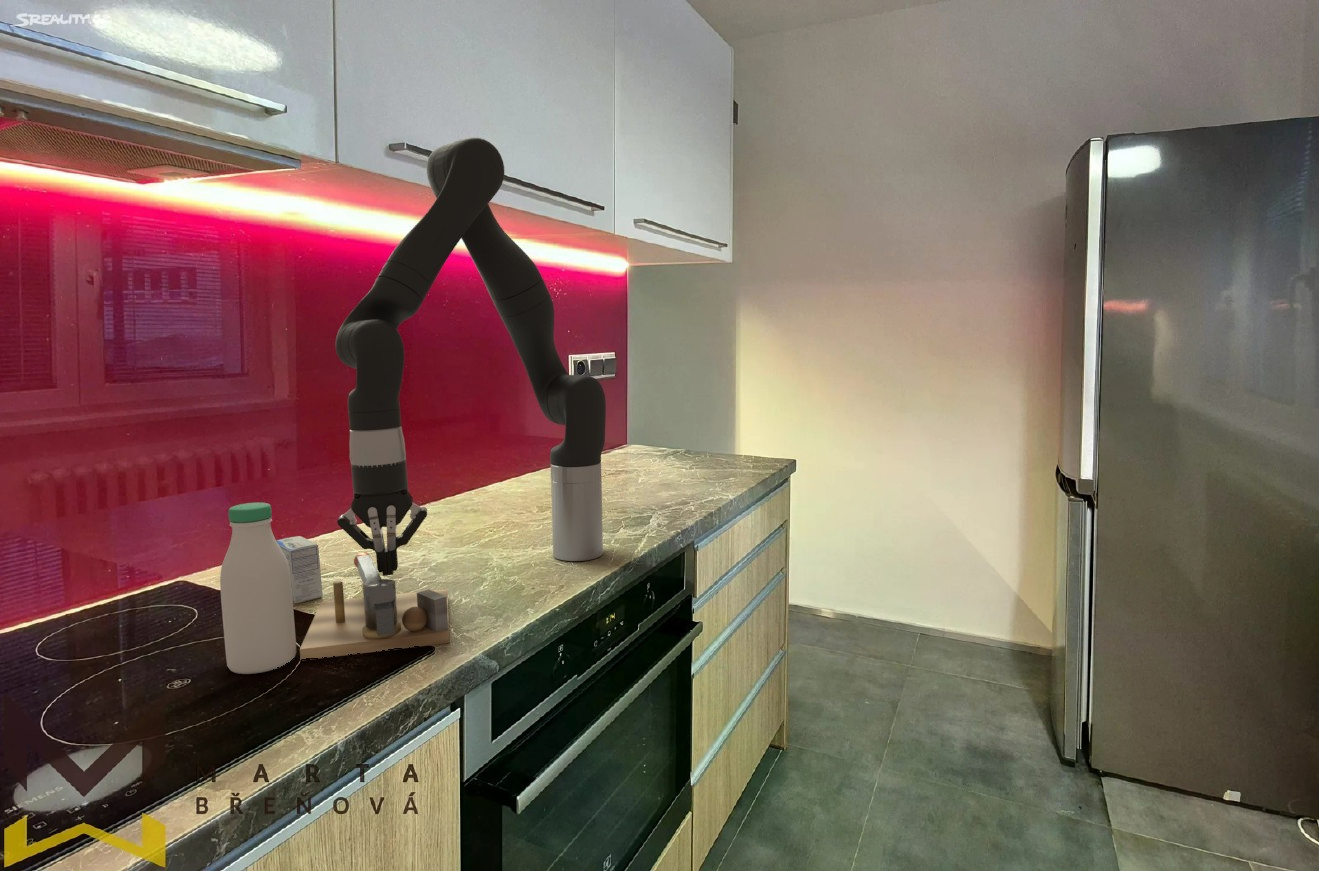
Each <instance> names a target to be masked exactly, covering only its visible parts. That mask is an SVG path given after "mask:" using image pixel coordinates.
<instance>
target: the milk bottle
mask: <svg viewBox="0 0 1319 871" xmlns="http://www.w3.org/2000/svg"><path fill="white" fill-rule="evenodd" d="M272 513H273V512H272V505H271V504H270V503H268V502H267V503H266V502H247V503H240V504H236V505H234V506H231V507H229V509H228V520H229V526H230V527H231V531H232V533H231V538H230V542H229V546H228V549H227V551H226V554H225V556H224V559H223V561H222V564H221V569H220V574H219V575H220V578H219V581H220V582H219V583H220V584H219V585H220V586H219V587H220V601H221V602H220V603H221V612H222V613H221V614H222V626H223V628H222V629H223V637H224V650H225V659H226V665H227V666H226V667H228V669H229V671H230V672H233V673H235V674H239V675H240V674H242V675H251V674H259V673H260V674H261V673H265V672H270V671H273V669H274V670H276V669H278V668H277V667H279V668H281V666H282V667H283V665H284V666H286V665H287V664H286V663H288V662H289V663H291V662H292V661H293V660H294V659H295V657H296V654H297V641H296V627H295V615H294V614H295V613H294V602H293V600H292V588H291V579H290V571H289V566H288V562H287V559H286V557H285V555H284V553H283V551H282V549H281V548H280V546H279V545H278V543H277V539H276V537H275V536H274V533H273V531H272V525H271V522H273V519H272V515H273V514H272ZM293 658H294V659H293ZM292 659H293V660H292ZM291 660H292V661H291ZM290 661H291V662H290ZM289 663H288V664H289ZM285 664H286V665H285Z"/></svg>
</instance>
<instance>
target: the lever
mask: <svg viewBox="0 0 1319 871" xmlns="http://www.w3.org/2000/svg"><path fill="white" fill-rule="evenodd" d="M353 564H354V566H355V567H356V568H357V572H358V575H359V577H360V579H361V581H362V583H363V585H362V593H363V597H364V612H365V626H366V627H367V628H369V629H375V630H376V632H377V635H378V636H383V635H388V634H394V633H395V631H394V625H395V624H396V623H397V622H398V620H397V603H396V594H397V590H396V589H397V588H396V581H395V580H394V579H391V578H390V579H389V578H382V577H381V574H380V572H379V571H378V570H377V566H376V565H375V562H374V560H373V559H372V556H371V555H370V554H369V553H367V552H359V553H358V554H356V555H355V556H354V558H353Z"/></svg>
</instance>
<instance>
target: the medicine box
mask: <svg viewBox="0 0 1319 871" xmlns="http://www.w3.org/2000/svg"><path fill="white" fill-rule="evenodd" d="M276 541H277V543H278V545H279V546H280V548H281V549H282V551H283V553H284V555H285V557H286V559H287V562H288V566H289V571H290V579H291V588H292V600H293V604H299V603H305V602H308V601H312V600H317V599H321V598H322V597H323V596H324V593H323V585H322V584H323V583H322V573H321V561H320V559H321V558H320V549H319V544H317V542H316V543H315V542H313V541H312V540H309V539H307V538H305V537H303V536H301V535H298V536H290V537H284V538H282V539H276Z"/></svg>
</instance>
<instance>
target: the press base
mask: <svg viewBox="0 0 1319 871" xmlns="http://www.w3.org/2000/svg"><path fill="white" fill-rule="evenodd" d="M332 586H333V589H332V590H333V600H324V601H321V602H320V603H319V606H318V608H317V610H316V612H315V614H314V617H313V618H312V621H311V622H310V623H311V624H310V625H309V628H308V630H307V631H306V634H305V636H304V638H303V641H302V643H301V646H300V648H299V657H300V660H301V659H306V658H318V659H324V657H327V658H334V657H333V656H335V657H342V656H343V657H344V656H349V655H350V654H352V655H358V654H357V653H360V654H367V653H374V652H375V653H376V651H377V652H383V651H382V650H385V651H389V650H388V649H394V648H402V649H409V647H410V648H415V647H414V646H419V647H427V646H434V645H435V646H436V645H443V644H448V643H450V623H449V622H450V620H449V597H448V594H449V593H448V592H449V591H448V588H446V589H436V590H435V589H434V590H431V589H426V590H421V591H414V592H413V591H412V592H404V593H396V603H397V620H398V622H397V623H396V624H395V625H394V631H395V633H394V634H388V635H383V636H378V635H377V632H376V630H375V629H369V628H367V627H366V626H365V612H364V596H363V597H353V598H344V594H345V593H344V582H343V581H339V580H338V581H334V582H333V583H332ZM394 650H395V649H394ZM348 654H349V655H348ZM350 656H351V655H350ZM322 657H323V658H322Z"/></svg>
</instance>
